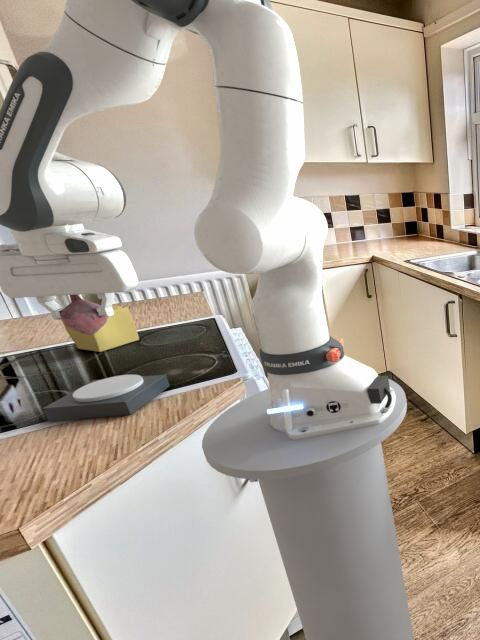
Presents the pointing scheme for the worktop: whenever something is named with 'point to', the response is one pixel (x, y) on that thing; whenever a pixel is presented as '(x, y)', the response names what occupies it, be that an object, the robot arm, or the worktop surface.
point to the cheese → (108, 332)
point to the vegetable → (82, 316)
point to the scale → (107, 397)
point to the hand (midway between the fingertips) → (85, 317)
